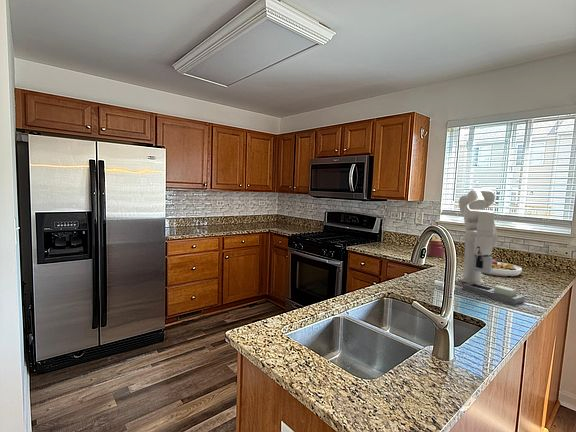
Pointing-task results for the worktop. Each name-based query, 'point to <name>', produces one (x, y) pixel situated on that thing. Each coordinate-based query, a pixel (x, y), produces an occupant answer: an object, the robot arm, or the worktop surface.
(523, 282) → the worktop surface
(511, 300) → the gray rectangular tray
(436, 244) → the canister
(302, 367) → the worktop surface
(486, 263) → the medicine box
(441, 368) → the worktop surface
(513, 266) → the bowl
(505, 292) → the green clip block
